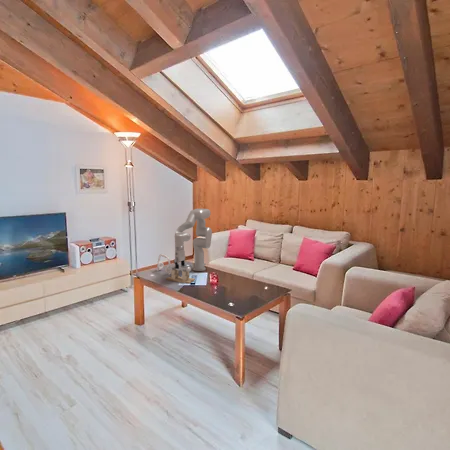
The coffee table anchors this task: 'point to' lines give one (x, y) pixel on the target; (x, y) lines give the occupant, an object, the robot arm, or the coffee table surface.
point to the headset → (160, 265)
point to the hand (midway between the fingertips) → (180, 267)
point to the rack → (178, 278)
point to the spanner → (180, 268)
